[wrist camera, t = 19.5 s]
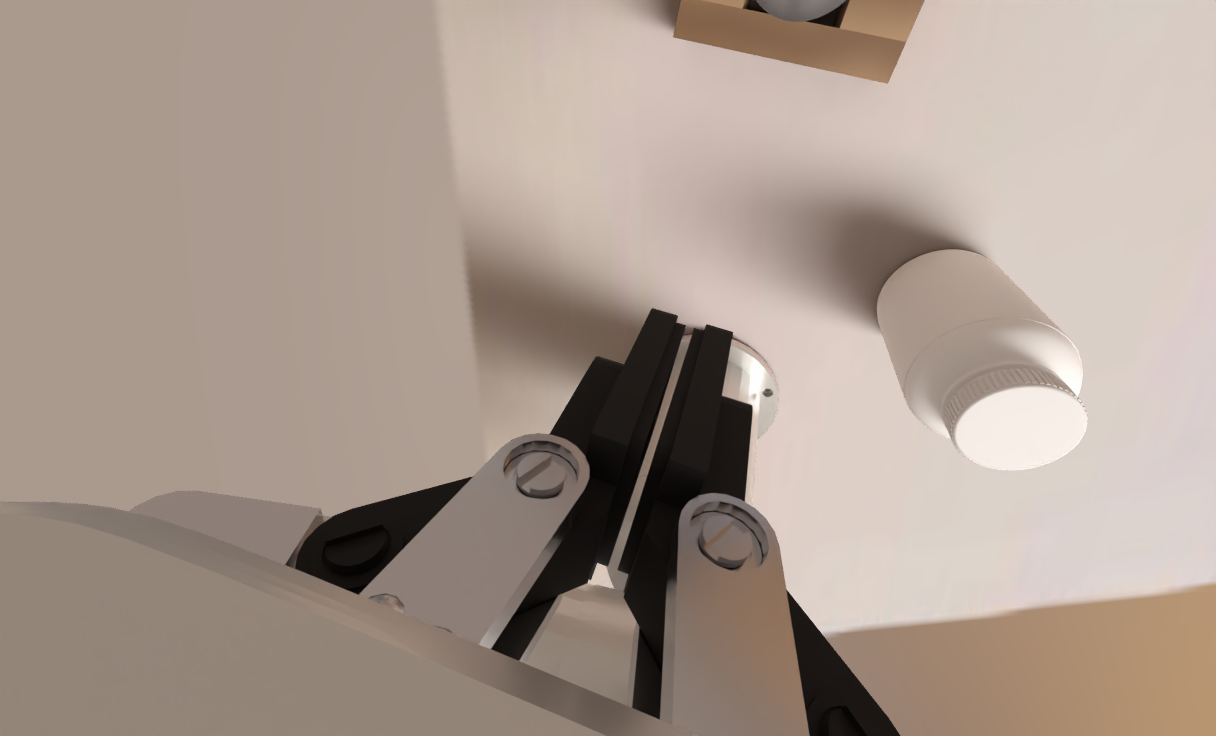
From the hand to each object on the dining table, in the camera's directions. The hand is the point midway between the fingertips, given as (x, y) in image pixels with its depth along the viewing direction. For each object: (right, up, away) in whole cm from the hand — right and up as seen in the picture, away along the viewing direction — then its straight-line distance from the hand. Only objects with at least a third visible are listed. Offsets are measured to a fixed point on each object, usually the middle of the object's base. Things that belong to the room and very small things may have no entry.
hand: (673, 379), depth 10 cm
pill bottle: (+22, +5, +25) cm, 34 cm away
